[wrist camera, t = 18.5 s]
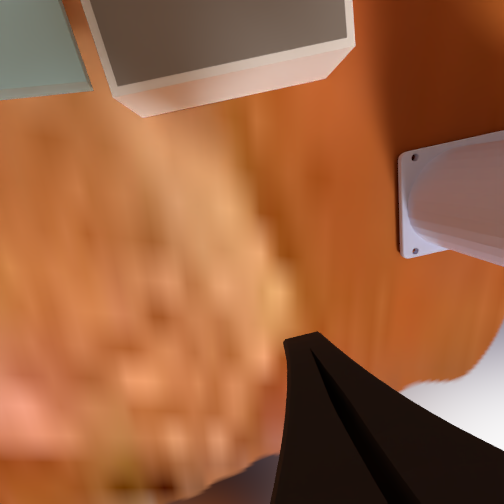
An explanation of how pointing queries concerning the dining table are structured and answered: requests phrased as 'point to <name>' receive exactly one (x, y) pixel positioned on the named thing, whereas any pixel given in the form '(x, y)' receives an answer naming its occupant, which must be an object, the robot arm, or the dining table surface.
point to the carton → (214, 47)
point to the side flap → (38, 51)
